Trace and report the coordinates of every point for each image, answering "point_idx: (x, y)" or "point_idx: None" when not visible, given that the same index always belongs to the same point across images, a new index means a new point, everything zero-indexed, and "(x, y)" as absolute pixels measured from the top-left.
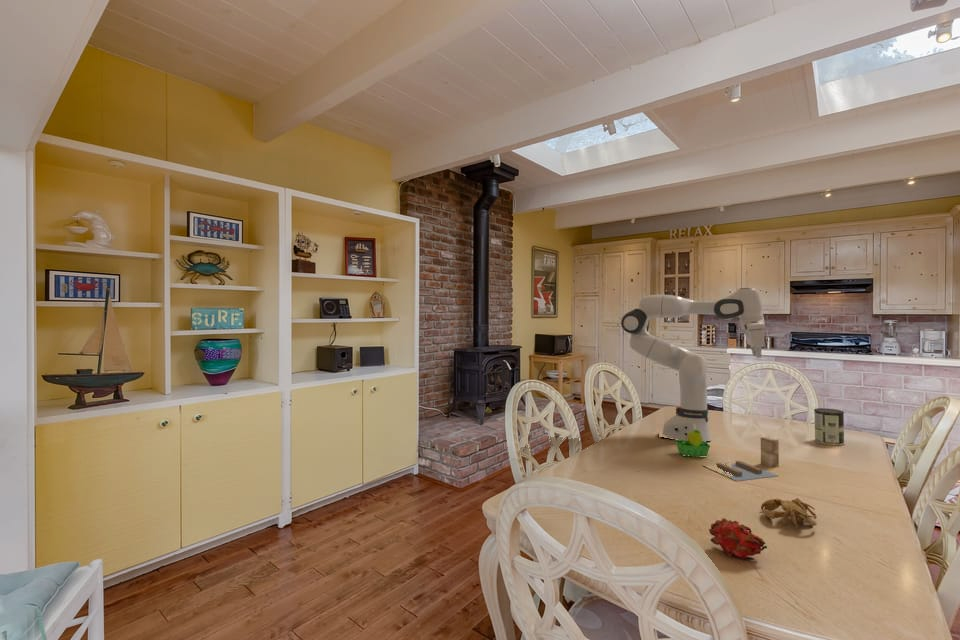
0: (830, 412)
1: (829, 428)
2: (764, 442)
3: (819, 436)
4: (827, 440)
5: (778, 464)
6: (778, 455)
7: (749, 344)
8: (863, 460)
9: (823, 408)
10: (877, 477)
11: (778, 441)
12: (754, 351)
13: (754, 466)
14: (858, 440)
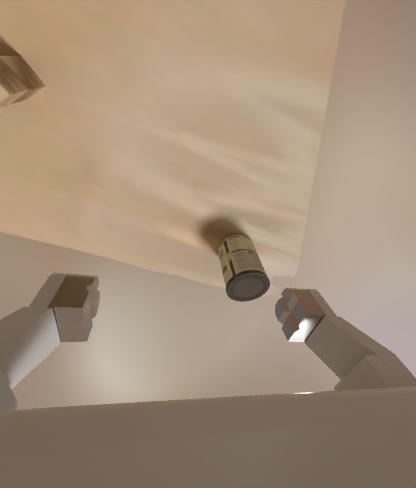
0: (234, 286)
1: (224, 262)
2: None
3: (232, 242)
4: (222, 246)
5: (24, 99)
6: (12, 103)
7: (363, 409)
8: (143, 251)
9: (268, 287)
10: (56, 236)
11: None
12: (315, 329)
13: None
14: None
